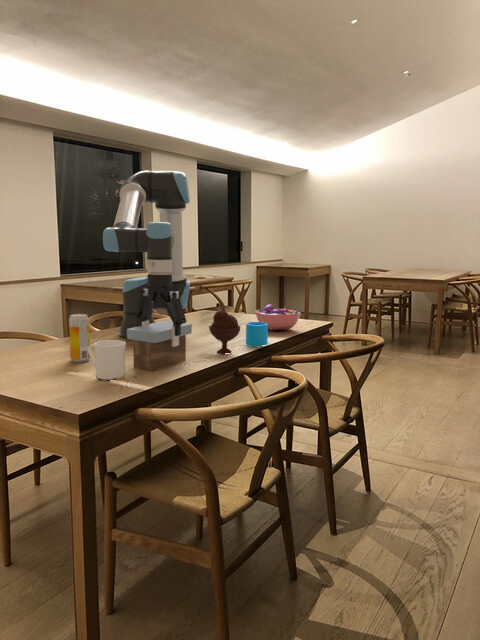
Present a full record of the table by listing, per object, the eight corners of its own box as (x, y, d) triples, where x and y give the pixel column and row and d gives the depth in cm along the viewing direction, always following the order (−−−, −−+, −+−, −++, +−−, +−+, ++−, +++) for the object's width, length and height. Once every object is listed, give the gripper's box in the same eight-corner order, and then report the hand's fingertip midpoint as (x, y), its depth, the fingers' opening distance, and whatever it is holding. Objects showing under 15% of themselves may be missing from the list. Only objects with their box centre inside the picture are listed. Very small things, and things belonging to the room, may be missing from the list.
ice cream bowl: (213, 357, 183) (213, 313, 180) (206, 349, 193) (206, 308, 191) (243, 355, 186) (243, 312, 183) (234, 348, 196) (235, 308, 194)
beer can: (82, 357, 180) (81, 313, 177) (93, 360, 176) (92, 315, 173) (66, 360, 175) (65, 315, 173) (77, 363, 171) (76, 317, 169)
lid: (127, 341, 162) (126, 328, 162) (164, 332, 178) (164, 320, 177) (155, 346, 157) (155, 333, 156) (191, 336, 172) (191, 324, 171)
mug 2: (260, 348, 198) (260, 326, 196) (241, 345, 202) (242, 324, 201) (276, 342, 208) (276, 321, 206) (257, 340, 212) (258, 319, 211)
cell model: (299, 335, 223) (300, 308, 221) (251, 332, 226) (252, 306, 224) (301, 327, 240) (302, 302, 238) (256, 325, 243) (257, 301, 241)
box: (133, 371, 163) (133, 339, 162) (168, 360, 178) (168, 330, 176) (151, 374, 160) (151, 342, 158) (185, 363, 174) (185, 332, 173)
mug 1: (129, 373, 161) (128, 340, 159) (123, 382, 152) (122, 346, 150) (92, 373, 160) (91, 339, 159) (84, 381, 152) (83, 346, 150)
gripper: (122, 272, 167) (123, 341, 170) (183, 276, 155) (183, 350, 158) (138, 270, 173) (139, 337, 177) (198, 274, 161) (198, 346, 165)
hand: (160, 343), depth 168 cm, fingers closed on lid, 11 cm apart
